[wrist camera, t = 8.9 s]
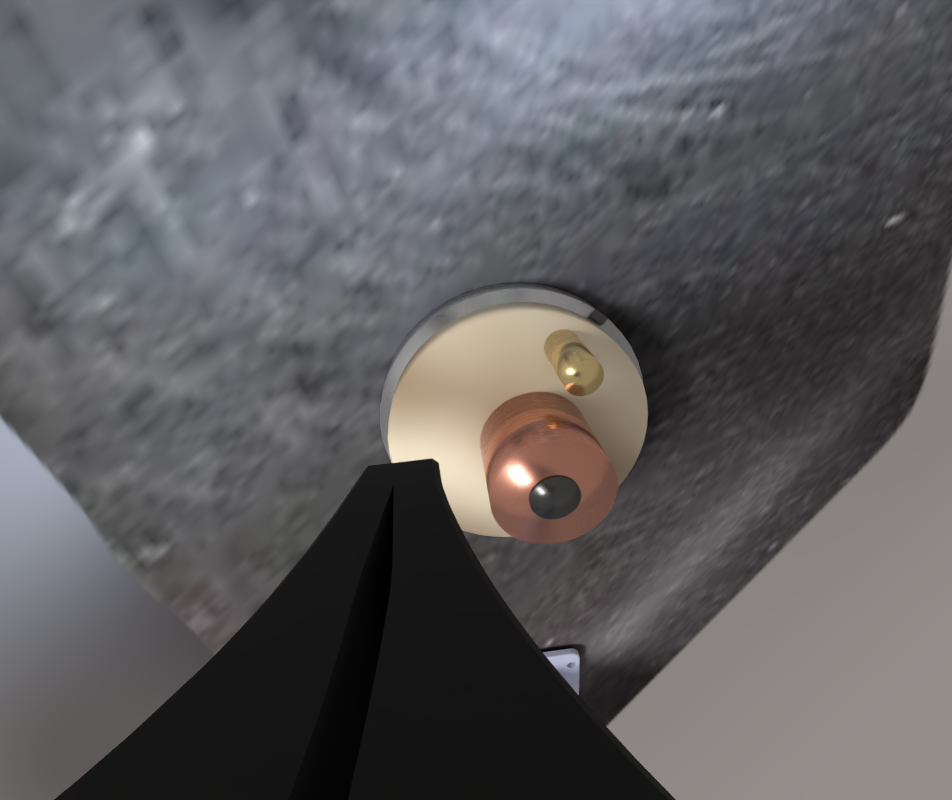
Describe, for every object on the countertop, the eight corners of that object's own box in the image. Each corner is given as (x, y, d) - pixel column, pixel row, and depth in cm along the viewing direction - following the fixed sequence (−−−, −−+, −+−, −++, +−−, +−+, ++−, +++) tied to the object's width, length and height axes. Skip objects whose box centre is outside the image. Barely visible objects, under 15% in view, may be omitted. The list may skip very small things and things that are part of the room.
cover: (562, 491, 18) (588, 556, 15) (466, 472, 17) (473, 536, 14) (604, 406, 17) (642, 459, 14) (500, 380, 16) (516, 430, 13)
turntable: (573, 534, 21) (599, 603, 18) (364, 490, 19) (350, 560, 16) (680, 346, 17) (739, 391, 14) (431, 264, 15) (432, 293, 12)
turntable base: (626, 492, 22) (634, 506, 21) (405, 520, 21) (404, 536, 20) (644, 267, 17) (656, 273, 16) (357, 299, 16) (353, 308, 15)
